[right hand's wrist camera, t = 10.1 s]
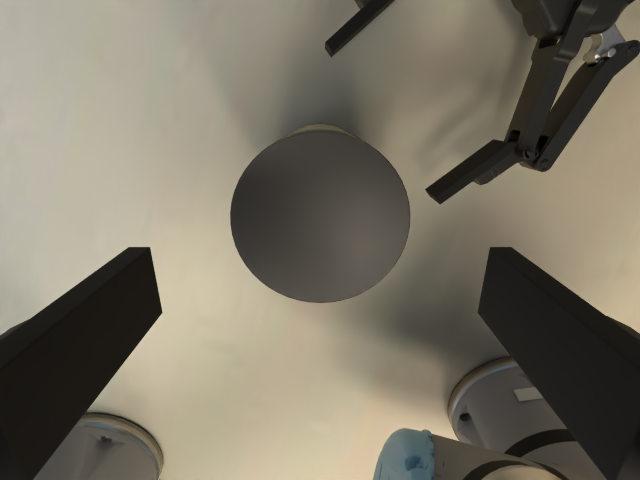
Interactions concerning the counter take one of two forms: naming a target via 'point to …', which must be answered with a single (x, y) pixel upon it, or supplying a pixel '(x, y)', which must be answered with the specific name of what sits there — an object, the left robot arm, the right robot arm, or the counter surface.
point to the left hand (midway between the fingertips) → (383, 129)
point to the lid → (320, 216)
